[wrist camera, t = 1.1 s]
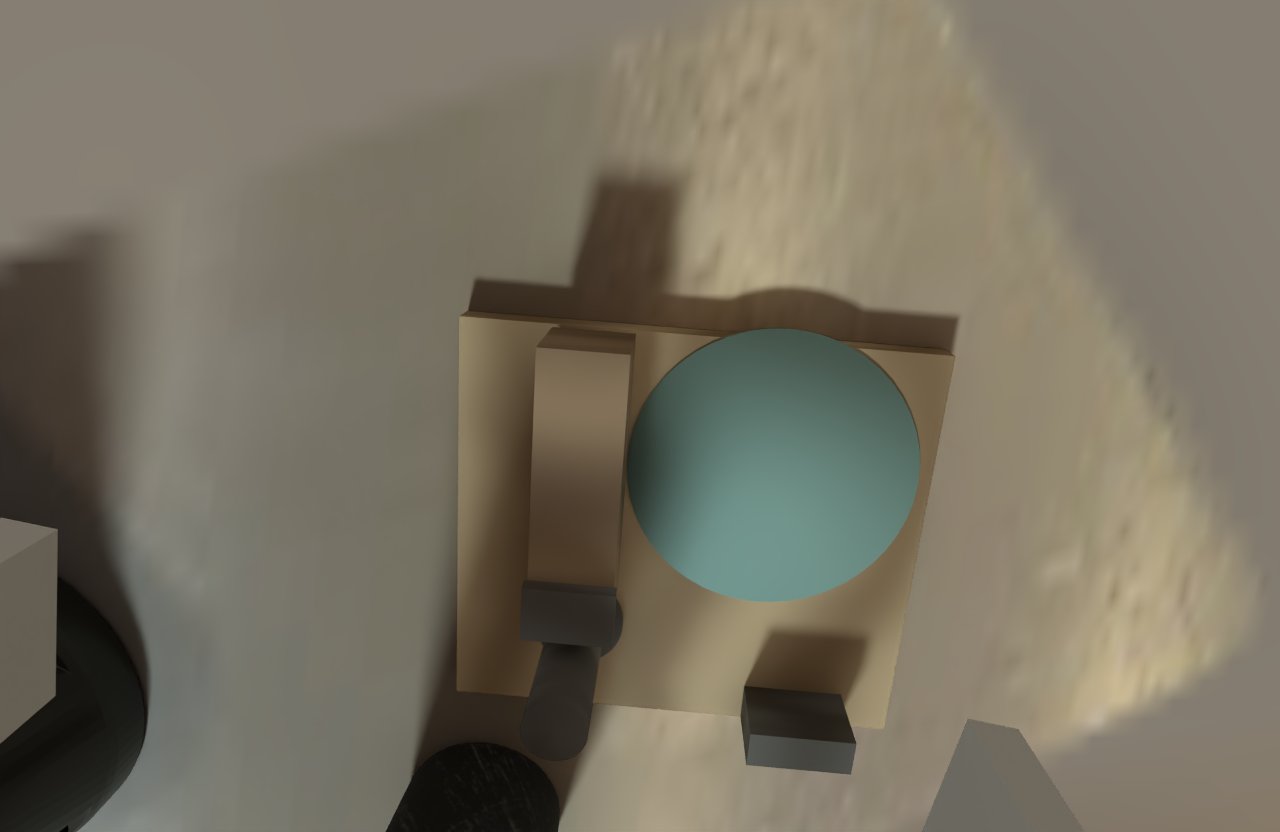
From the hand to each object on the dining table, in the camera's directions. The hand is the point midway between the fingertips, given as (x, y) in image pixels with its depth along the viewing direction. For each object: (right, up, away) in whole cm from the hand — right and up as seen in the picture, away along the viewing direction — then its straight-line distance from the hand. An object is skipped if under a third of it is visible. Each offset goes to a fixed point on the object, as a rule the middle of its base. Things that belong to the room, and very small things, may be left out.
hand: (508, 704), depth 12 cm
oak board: (+4, 0, +21) cm, 21 cm away
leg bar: (0, +2, +19) cm, 19 cm away
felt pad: (+7, +2, +19) cm, 20 cm away
